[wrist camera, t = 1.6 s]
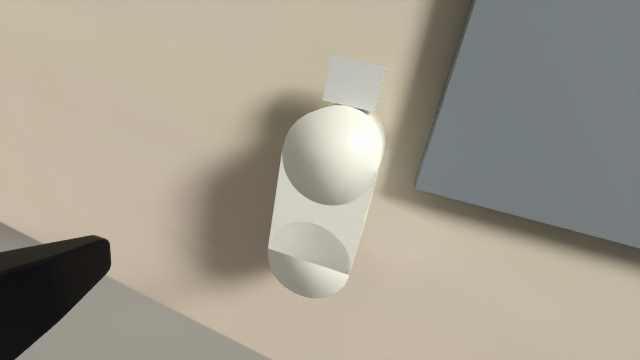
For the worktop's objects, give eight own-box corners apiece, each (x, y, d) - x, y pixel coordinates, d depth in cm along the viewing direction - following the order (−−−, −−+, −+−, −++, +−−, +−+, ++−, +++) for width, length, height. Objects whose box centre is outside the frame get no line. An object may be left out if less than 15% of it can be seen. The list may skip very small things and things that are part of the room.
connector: (356, 254, 19) (340, 309, 15) (296, 235, 20) (263, 281, 15) (405, 71, 15) (404, 68, 11) (329, 56, 16) (297, 47, 11)
